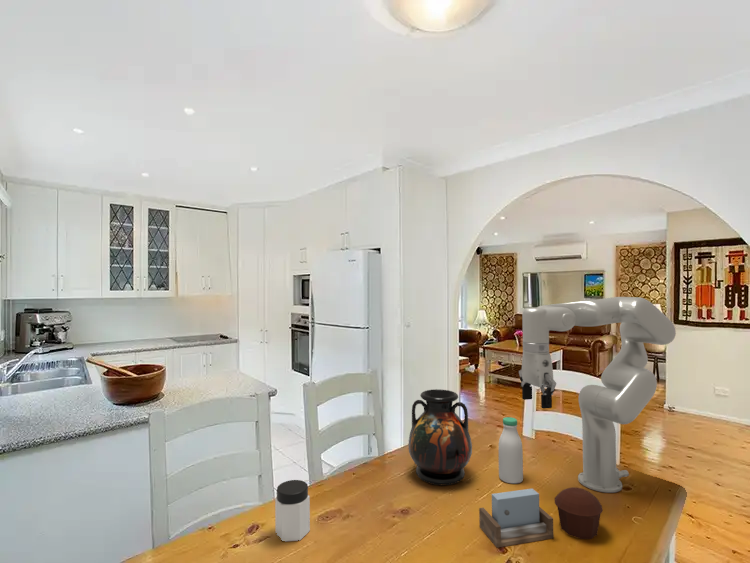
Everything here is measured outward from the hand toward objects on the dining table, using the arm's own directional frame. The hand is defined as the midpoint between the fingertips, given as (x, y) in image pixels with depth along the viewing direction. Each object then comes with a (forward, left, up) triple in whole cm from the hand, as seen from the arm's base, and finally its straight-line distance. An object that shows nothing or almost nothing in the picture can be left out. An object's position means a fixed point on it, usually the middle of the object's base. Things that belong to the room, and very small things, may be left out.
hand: (536, 403), depth 126 cm
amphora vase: (+24, -20, -28) cm, 42 cm away
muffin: (0, +18, -29) cm, 34 cm away
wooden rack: (+17, +15, -28) cm, 36 cm away
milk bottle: (+2, -12, -28) cm, 31 cm away
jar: (+74, +1, -28) cm, 79 cm away
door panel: (+17, +15, -27) cm, 35 cm away
